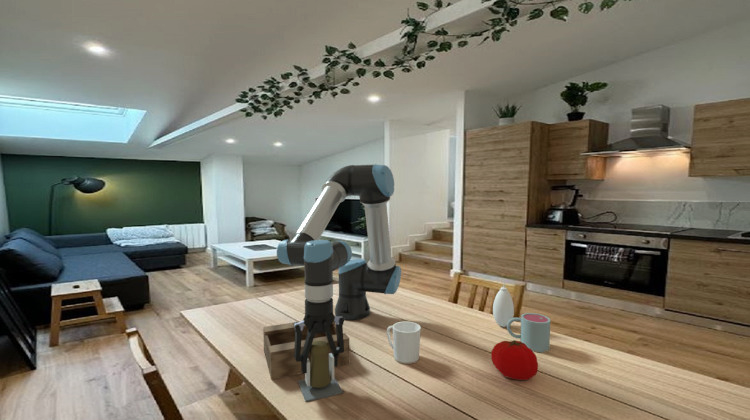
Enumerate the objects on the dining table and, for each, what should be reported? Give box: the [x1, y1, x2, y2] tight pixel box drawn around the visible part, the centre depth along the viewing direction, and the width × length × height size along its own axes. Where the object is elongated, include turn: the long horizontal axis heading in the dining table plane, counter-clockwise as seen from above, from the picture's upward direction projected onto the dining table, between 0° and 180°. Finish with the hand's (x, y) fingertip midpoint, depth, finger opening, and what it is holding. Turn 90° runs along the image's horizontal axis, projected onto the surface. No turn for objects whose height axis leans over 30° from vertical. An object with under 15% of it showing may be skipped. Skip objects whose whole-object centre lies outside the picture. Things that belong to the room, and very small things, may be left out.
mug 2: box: [506, 312, 551, 353], centre depth 123 cm, size 14×9×10 cm
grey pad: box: [297, 376, 344, 403], centre depth 97 cm, size 10×10×1 cm
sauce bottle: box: [492, 281, 515, 328], centre depth 139 cm, size 8×8×18 cm
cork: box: [310, 340, 331, 388], centre depth 97 cm, size 6×6×11 cm
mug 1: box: [386, 320, 422, 365], centre depth 114 cm, size 11×9×10 cm
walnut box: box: [262, 320, 350, 381], centre depth 114 cm, size 24×20×8 cm
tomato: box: [490, 339, 539, 381], centre depth 103 cm, size 11×13×10 cm
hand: (319, 380), depth 97 cm, fingers closed on cork, 6 cm apart
